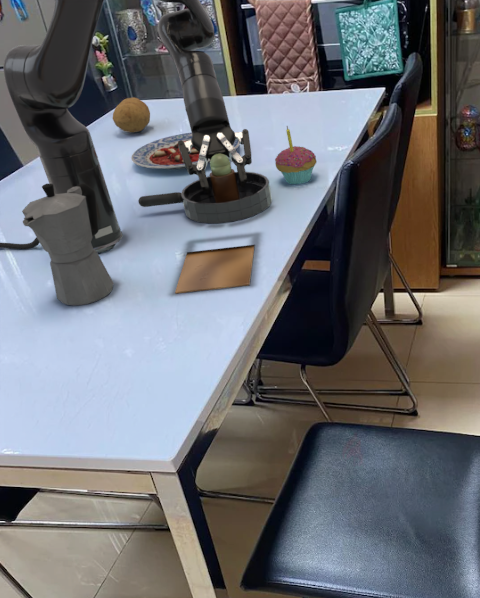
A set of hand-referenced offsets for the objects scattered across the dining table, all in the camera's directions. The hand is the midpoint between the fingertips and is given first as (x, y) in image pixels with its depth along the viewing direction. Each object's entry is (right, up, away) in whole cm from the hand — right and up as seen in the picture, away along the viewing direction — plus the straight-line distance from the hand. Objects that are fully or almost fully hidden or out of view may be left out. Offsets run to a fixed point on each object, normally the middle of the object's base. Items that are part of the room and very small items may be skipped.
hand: (225, 187), depth 135 cm
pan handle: (-13, -2, +3) cm, 13 cm away
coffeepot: (-19, -23, -18) cm, 35 cm away
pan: (0, -3, +4) cm, 5 cm away
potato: (-34, +35, +57) cm, 75 cm away
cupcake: (+13, +5, +13) cm, 19 cm away
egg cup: (0, -2, +4) cm, 4 cm away
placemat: (+1, -18, -14) cm, 23 cm away
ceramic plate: (-15, +19, +34) cm, 41 cm away
